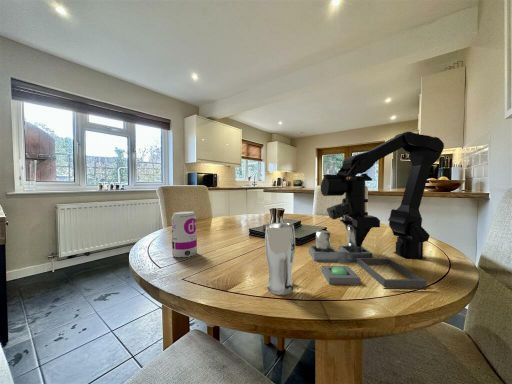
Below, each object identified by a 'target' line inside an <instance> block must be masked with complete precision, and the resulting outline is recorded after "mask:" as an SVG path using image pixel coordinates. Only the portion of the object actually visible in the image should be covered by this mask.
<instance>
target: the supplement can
mask: <svg viewBox="0 0 512 384" xmlns="http://www.w3.org/2000/svg"><path fill="white" fill-rule="evenodd" d="M197 225H198V224H197V215H196V213H195V211H192V210H191V211H189V210H188V211H183V210H182V211H175V212H173V214H172V216H171V245H172V247H171V249H172V250H171V253H172V256H174V257H175V258H176V257H188V258H191V257H190V256H192V257H194V256H195V255H196V254H197V252H198V238H197V237H198V235H197V234H198V233H197ZM193 255H194V256H193Z"/></svg>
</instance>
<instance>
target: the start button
mask: <svg viewBox="0 0 512 384" xmlns="http://www.w3.org/2000/svg"><path fill="white" fill-rule="evenodd" d="M332 274H333V275H347V270H346V269H344V268H340V267H334V268H332Z"/></svg>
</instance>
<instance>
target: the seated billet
mask: <svg viewBox="0 0 512 384" xmlns="http://www.w3.org/2000/svg"><path fill="white" fill-rule="evenodd" d="M315 246H316V252H330V246H331V231H328V230H316V231H315Z"/></svg>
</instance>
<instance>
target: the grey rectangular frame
mask: <svg viewBox="0 0 512 384" xmlns="http://www.w3.org/2000/svg"><path fill="white" fill-rule="evenodd" d="M356 264H357V265H358V266H359V267H360V268H362V269H363V270H364V271H365V272H366V273H367V274H369V275H370V276H371V277H372V278H373V280H375V281H377V282H378V283H379V284H380V285H381V286H382V289H383V290H415V291H416V290H418V291H425V290H427V280H426V279H424V278H423V277H421V276H420V275H417V274H416V273H414V272H412V271H411V270H410V269H408V268H406V267H404V266H403V265H401V264H399V263H398V262H396V261H394V260H393V259H391V258H388V257H384V258H383V257H382V258H381V257H379V258H377V257H372V258H357V263H356ZM370 265H389V266H390V267H391V268H393V269H394V270H396V271H397V272H398V273H401V274H402V275H403V276H406V278H407V279H404V278H402V279H401V278H399V279H398V278H396V279H393V278H385V277H384V276H382V275H381V274H380V273H378V272H377V271H376V270H375V269H374V268H372V267H371V266H370Z"/></svg>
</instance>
